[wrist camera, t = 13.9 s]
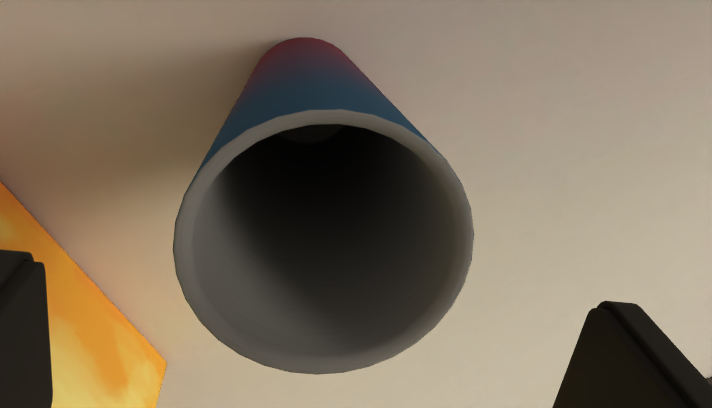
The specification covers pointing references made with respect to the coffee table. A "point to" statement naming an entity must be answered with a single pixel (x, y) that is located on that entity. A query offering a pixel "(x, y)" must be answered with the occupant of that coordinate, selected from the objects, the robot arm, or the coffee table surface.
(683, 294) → the coffee table surface
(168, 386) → the coffee table surface
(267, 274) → the cup
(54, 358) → the mottled yellow carton
